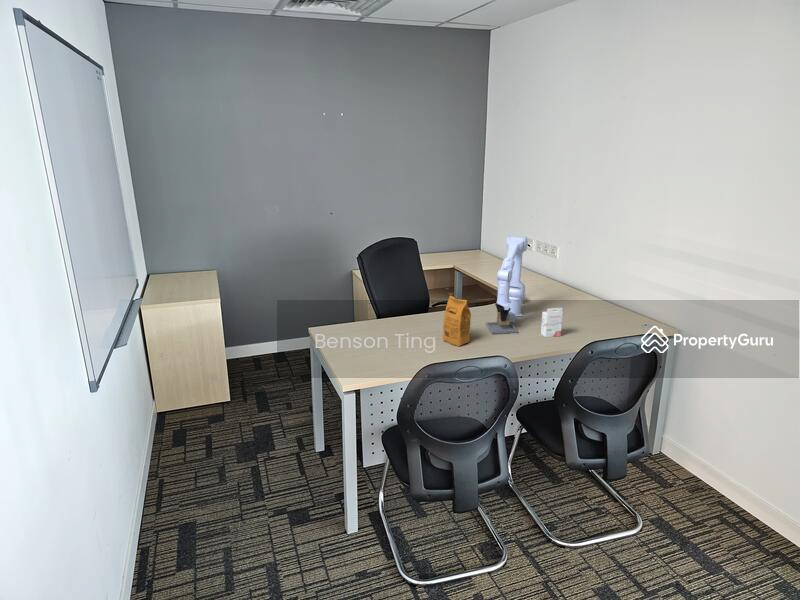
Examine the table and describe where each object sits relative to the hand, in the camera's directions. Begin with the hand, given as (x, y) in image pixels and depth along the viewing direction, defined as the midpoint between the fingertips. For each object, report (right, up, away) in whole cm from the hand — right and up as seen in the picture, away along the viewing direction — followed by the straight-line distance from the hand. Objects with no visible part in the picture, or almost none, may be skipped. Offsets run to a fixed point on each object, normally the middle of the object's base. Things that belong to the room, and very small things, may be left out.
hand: (501, 319), depth 264 cm
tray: (0, -5, +2) cm, 6 cm away
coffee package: (-25, -10, -14) cm, 30 cm away
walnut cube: (+1, -2, +1) cm, 2 cm away
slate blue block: (+6, -2, +13) cm, 14 cm away
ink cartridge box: (+23, -8, -6) cm, 25 cm away
